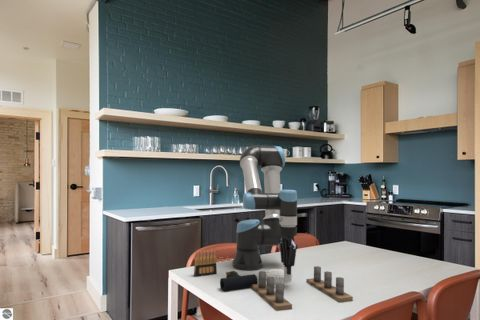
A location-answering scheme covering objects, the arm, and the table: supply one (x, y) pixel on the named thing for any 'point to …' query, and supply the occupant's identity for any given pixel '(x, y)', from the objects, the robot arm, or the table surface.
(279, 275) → the mooncake
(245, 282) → the pipe connector
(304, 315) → the table surface
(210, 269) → the ammunition clip
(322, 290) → the rails
